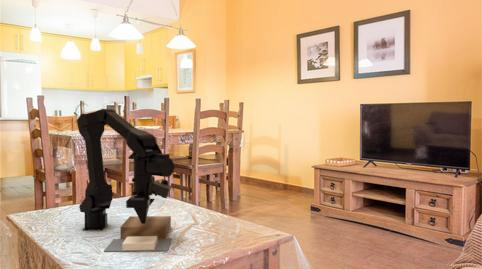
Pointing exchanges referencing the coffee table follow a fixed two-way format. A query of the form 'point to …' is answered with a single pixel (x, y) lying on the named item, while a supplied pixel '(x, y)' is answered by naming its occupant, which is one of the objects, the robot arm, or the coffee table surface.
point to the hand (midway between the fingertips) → (143, 223)
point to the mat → (117, 247)
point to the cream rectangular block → (140, 243)
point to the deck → (146, 227)
